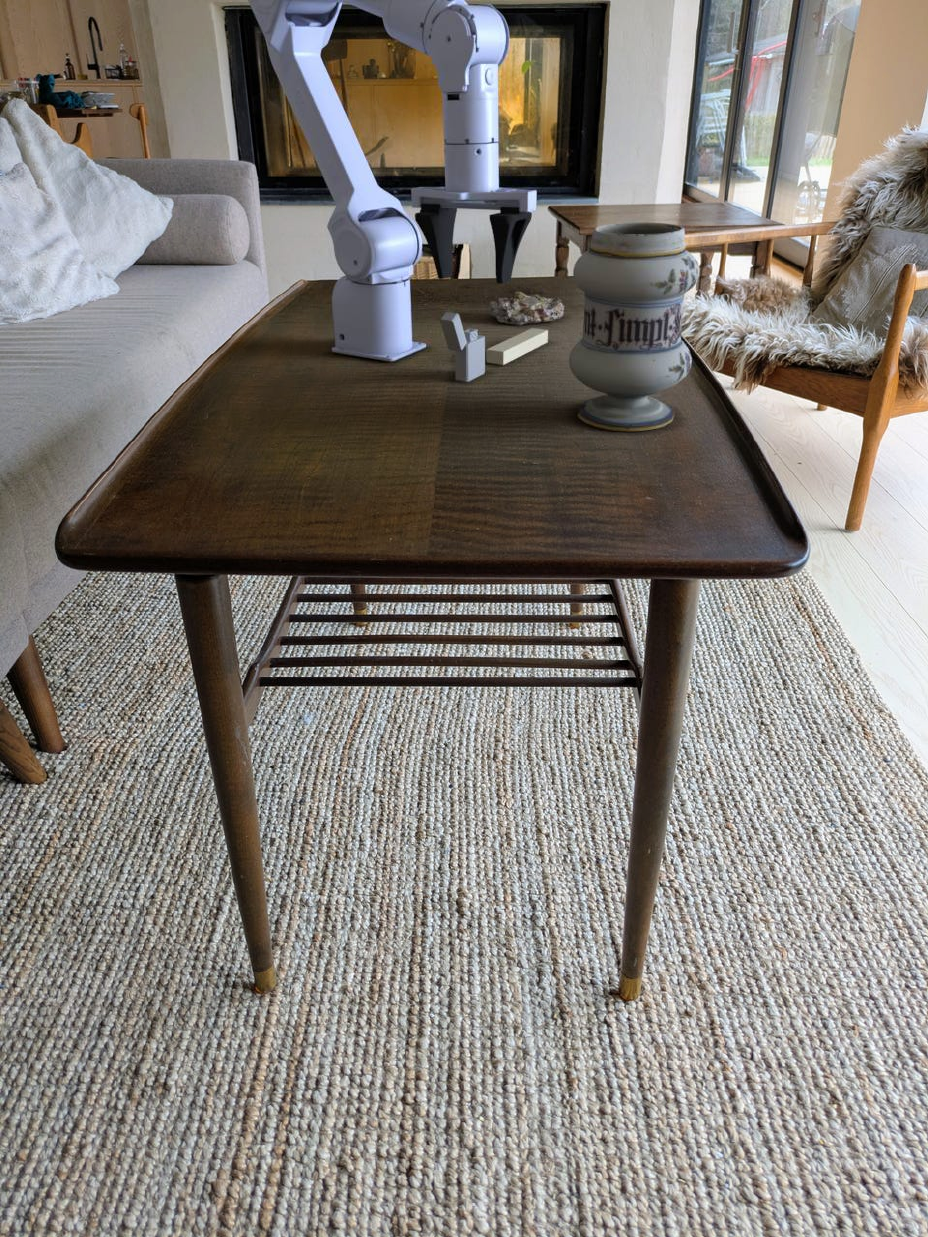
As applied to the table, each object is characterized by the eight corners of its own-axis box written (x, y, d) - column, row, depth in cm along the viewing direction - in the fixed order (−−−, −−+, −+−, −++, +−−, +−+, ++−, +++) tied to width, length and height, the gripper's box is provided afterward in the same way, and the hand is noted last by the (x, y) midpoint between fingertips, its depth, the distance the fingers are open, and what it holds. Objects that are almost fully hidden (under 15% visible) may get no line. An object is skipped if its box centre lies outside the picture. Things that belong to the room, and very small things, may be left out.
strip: (486, 362, 110) (486, 349, 109) (531, 340, 119) (531, 327, 118) (503, 365, 109) (503, 351, 108) (547, 342, 118) (548, 329, 117)
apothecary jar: (562, 397, 98) (571, 217, 89) (673, 397, 98) (694, 217, 88) (570, 435, 88) (580, 237, 78) (694, 436, 87) (720, 236, 78)
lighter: (472, 370, 107) (472, 300, 103) (485, 372, 106) (485, 302, 102) (441, 386, 102) (439, 313, 98) (454, 388, 101) (452, 315, 97)
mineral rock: (495, 310, 123) (488, 282, 128) (492, 339, 126) (485, 310, 132) (572, 310, 124) (562, 282, 130) (568, 339, 127) (558, 310, 133)
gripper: (392, 145, 95) (400, 281, 102) (514, 145, 88) (514, 290, 95) (428, 140, 100) (434, 270, 107) (546, 141, 93) (544, 279, 100)
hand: (474, 279), depth 101 cm, fingers open, 7 cm apart
